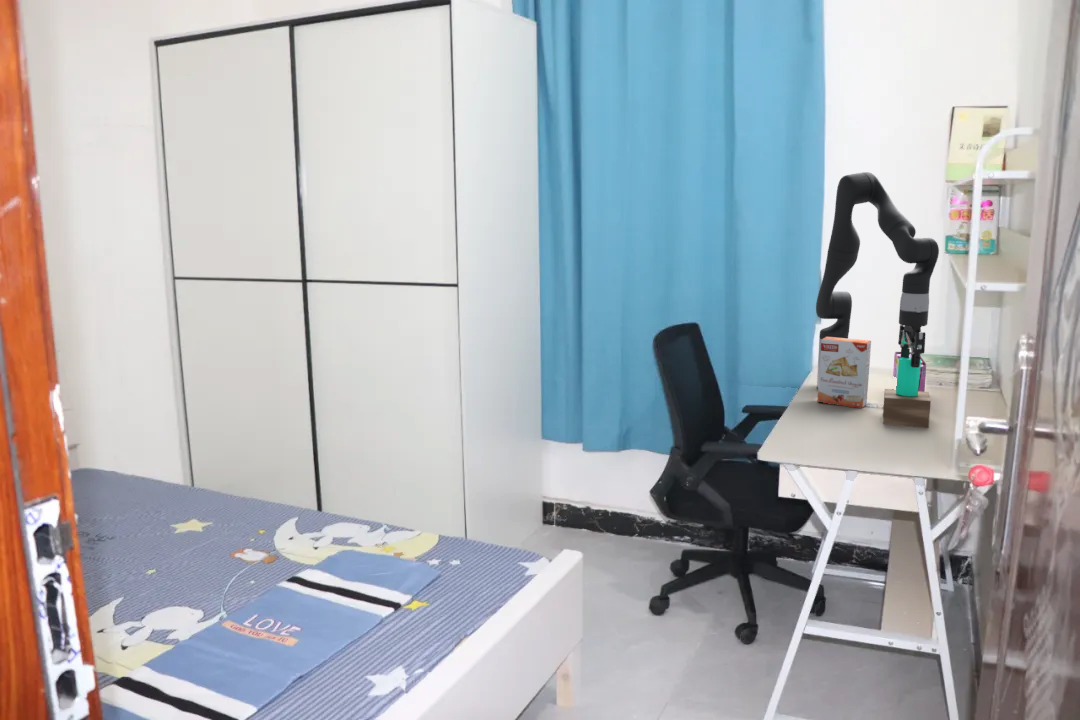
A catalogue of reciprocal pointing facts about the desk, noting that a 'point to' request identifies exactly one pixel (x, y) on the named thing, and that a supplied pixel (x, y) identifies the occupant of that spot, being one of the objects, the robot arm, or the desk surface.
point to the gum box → (922, 370)
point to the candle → (907, 378)
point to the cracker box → (844, 371)
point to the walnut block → (906, 409)
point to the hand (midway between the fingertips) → (909, 364)
